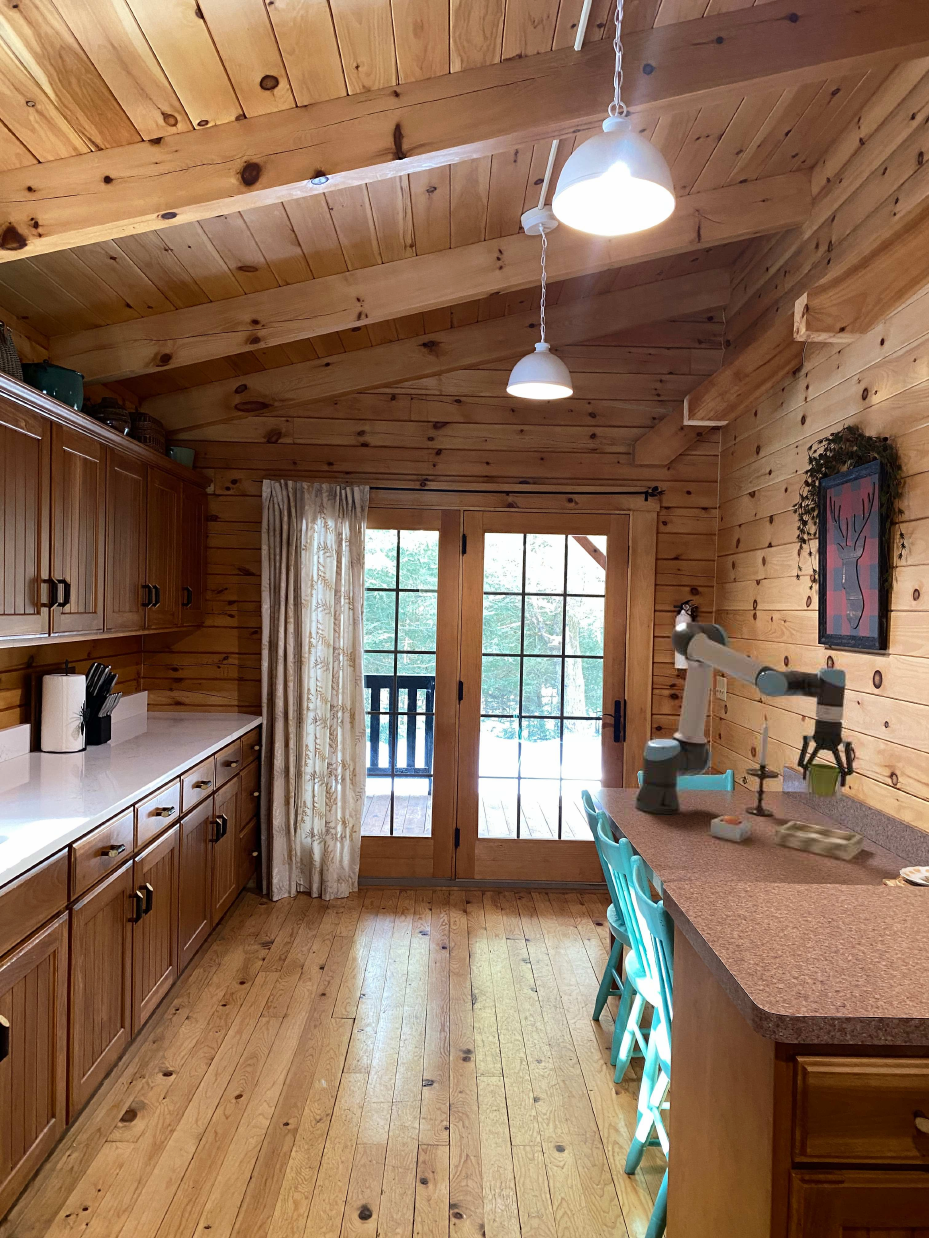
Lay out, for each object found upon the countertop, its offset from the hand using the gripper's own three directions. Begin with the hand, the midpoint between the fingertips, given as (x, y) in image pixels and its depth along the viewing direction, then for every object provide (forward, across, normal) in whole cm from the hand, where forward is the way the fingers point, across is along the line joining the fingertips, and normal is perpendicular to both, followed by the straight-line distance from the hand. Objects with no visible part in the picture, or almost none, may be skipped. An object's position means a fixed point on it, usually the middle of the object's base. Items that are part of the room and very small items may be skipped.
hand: (822, 794), depth 254 cm
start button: (+13, -23, -12) cm, 29 cm away
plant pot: (0, 0, 0) cm, 0 cm away
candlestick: (+16, -27, +27) cm, 41 cm away
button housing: (+16, -23, -12) cm, 30 cm away
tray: (+16, 0, 0) cm, 16 cm away
